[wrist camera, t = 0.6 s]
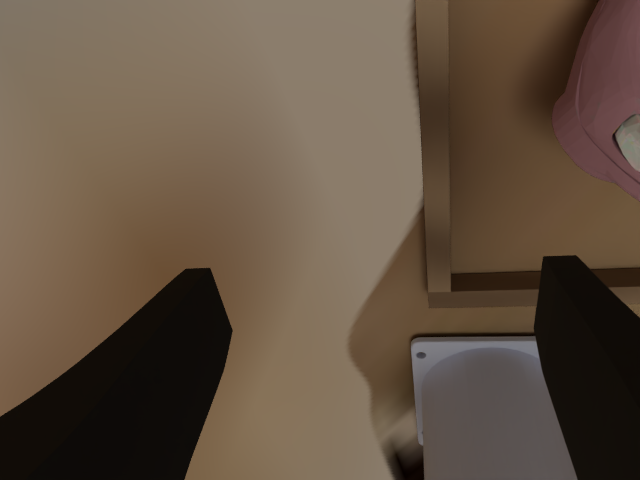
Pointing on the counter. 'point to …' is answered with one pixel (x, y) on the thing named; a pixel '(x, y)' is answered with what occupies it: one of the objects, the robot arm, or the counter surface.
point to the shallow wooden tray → (436, 188)
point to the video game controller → (605, 97)
